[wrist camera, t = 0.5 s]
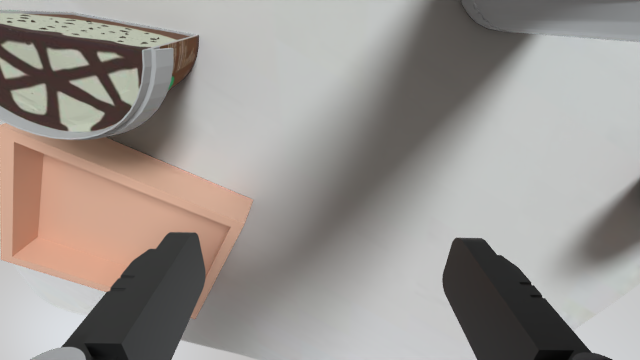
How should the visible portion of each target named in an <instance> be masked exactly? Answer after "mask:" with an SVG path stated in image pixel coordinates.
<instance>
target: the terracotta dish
mask: <svg viewBox="0 0 640 360" xmlns="http://www.w3.org/2000/svg"><path fill="white" fill-rule="evenodd" d="M252 202H253V200H252V199H250V198H248V197H245V196H243V195H240V194H238V193H236V192H233V191H231V190H229V189H226V188H224V187H222V186H219V185H217V184H215V183H212V182H210V181H208V180H205V179H203V178H201V177H198V176H196V175H193V174H191V173H189V172H186V171H184V170H182V169H179V168H177V167H175V166H172V165H170V164H168V163H165V162H163V161H161V160H158V159H156V158H153V157H151V156H149V155H146V154H144V153H142V152H139V151H137V150H135V149H132V148H130V147H128V146H125V145H123V144H121V143H118V142H116V141H113V140H111V139H109V138H106V137H103V138H98V139H91V140H67V139H55V138H49V137H44V136H40V135H36V134H33V133H30V132H27V131H24V130H21V129H18V128H16V127H13V126H11V125H9V124H7V123H5V124H2V125H0V228H1V260H4V261H7V262H10V263H13V264H16V265H20V266H23V267H26V268H29V269H33V270H36V271H39V272H43V273H46V274H49V275H52V276H56V277H59V278H62V279H65V280H69V281H72V282H75V283H78V284H82V285H85V286H88V287H92V288H95V289H98V290H101V291H105V292H107V291H110V288H111V286H112V285H113V284H114V283H115V282H116V280H117V279H118V278H120V277H121V274H122V273H123V272H124V271H125V269H126V268H127V267H128V266H129V265H130V263H131V262H132V261H133V260H134V259H136V258H137V257H139V256H140V255H141V254H143V253H144V252H146V251H147V250H148V249H156V248H157V247H158V245H159V244H160V243H161V241H162V240H163V239H164V237H165V236H166V235H167V234H168V233H170V232H195V233H197V235H198V237H199V241H200V246H201V250H202V255H203V260H204V265H205V271H206V276H205V284H204V287H203V290H202V293H201V295H200V297H199V299H198V301H197V304H196V306H195V308H194V310H193V313H192V315H191V317H190V318H193V319H196V317H197V315H198V313H199V311H200V309H201V307H202V305H203V303H204V301H205V300H206V298H207V296H208V294H209V292H210V290H211V288H212V286H213V284H214V282H215V280H216V278H217V276H218V274H219V272H220V270H221V269H222V267H223V265H224V263H225V261H226V259H227V257H228V255H229V253H230V251H231V249H232V247H233V245H234V243H235V241H236V239H237V238H238V236H239V234H240V232H241V230H242V228H243V226H244V224H245V221H246V219H247V216H248V213H249V210H250V208H251V205H252Z"/></svg>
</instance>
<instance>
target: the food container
mask: <svg viewBox="0 0 640 360" xmlns="http://www.w3.org/2000/svg"><path fill="white" fill-rule="evenodd" d="M198 47H199V35H194V34H188V33H183V32H177V31H172V30H166V29H161V28H155V27H150V26H144V25H139V24H133V23H128V22H122V21H117V20H111V19H106V18H100V17H94V16H89V15H83V14H78V13H68V12H42V11H16V10H0V121H2V122H5V123H7V124H9V125H11V126H13V127H16V128H18V129H21V130H24V131H27V132H30V133H33V134H36V135H40V136H44V137H49V138H55V139H67V140H91V139H98V138H103V137H108V136H112V135H116V134H120V133H124V132H127V131H130V130H132V129H134V128H136V127H138V126H140V125H141V124H143V123H144V122H145V121H147V120H148V119H150V117H151V116H152V115H153V114H154V113H155V112H156V111H157V110H158V109H159V107H160V105H161V103H162V102H163V100H164V98H165V97H166V94H167V91H168V90H169V89H171V88H172V87H173V86H175V85H176V84H178V83H179V82H180V81H181V80H183V79H184V78H185V77H186V76H187V74H188V73H189V72H190V70H191V69H192V67H193V65H194V63H195V60H196V57H197V52H198Z"/></svg>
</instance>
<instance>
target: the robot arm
mask: <svg viewBox="0 0 640 360" xmlns="http://www.w3.org/2000/svg"><path fill="white" fill-rule="evenodd" d="M461 2H462V5H463V6H464V8H465V10H466V11H467V13H468V15H469V16H470V17H471V18H472V19H474V20H475V21H476V22H477V23H478V24H480V25H482V26H484V27H486V28H488V29H492V30H497V31H504V32H511V33H530V34H541V35H554V36H567V37H580V38H594V39H607V40H620V41H633V42H640V0H461ZM205 276H206V271H205V265H204V260H203V255H202V250H201V246H200V241H199V237H198V235H197V233H195V232H170V233H168V234H167V235H166V236H165V237H164V239H163V240H162V241H161V243H160V244H159V245H158V247H157V248H156V249H148V250H147V251H146V252H144V253H143V254H141V255H140V256H139V257H137V258H136V259H134V260H133V261H132V262H131V263H130V265H129V266H128V267H127V268H126V269H125V271H124V272H123V273H122V274H121V277H120V278H118V279H117V280H116V282H115V283H114V284H113V285H112V286H111V288H110V291H107V293H106V294H105V295H104V296H103V297H102V299H101V300H100V301H99V302H98V304H97V305H96V306H95V307H94V308H93V310H92V311H91V312H90V313H89V314H88V316H87V317H86V318H85V319H84V321H83V322H82V323H81V324H80V325H79V327H78V328H77V329H76V330H75V332H74V333H73V334H72V335H71V336H70V338H69V339H68V340H67V342H65V344H64V345H63V346H62V347H61V348H56V349H53V350H49V351H47V352H44V353H42V354H40V355H38V356H36V357H34V358H32V359H30V360H171V359H172V357H173V355H174V352H175V350H176V348H177V346H178V343H179V341H180V339H181V337H182V335H183V332H184V330H185V328H186V326H187V324H188V321H189V319H190V317H191V315H192V313H193V310H194V308H195V306H196V304H197V301H198V299H199V297H200V295H201V293H202V290H203V287H204V284H205ZM443 288H444V292H445V295H446V297H447V299H448V301H449V303H450V305H451V307H452V309H453V311H454V313H455V315H456V317H457V319H458V321H459V323H460V325H461V327H462V329H463V331H464V333H465V335H466V337H467V340H468V342H469V344H470V346H471V348H472V350H473V352H474V354H475V356H476V358H477V360H612V359H610V358H608V357H605V356H602V355H599V354H595V353H592V352H591V351H590V350H589V349H588V348H587V347H586V346H585V345H584V343H583V342H582V341H581V340H580V339H579V338H578V336H577V335H576V334H575V333H574V332H573V331H572V329H571V328H570V327H569V326H568V325H567V324H566V322H565V321H564V320H563V319H562V318H561V317H560V315H559V314H558V313H557V312H556V311H555V310H554V308H553V307H552V306H551V305H550V304H549V303H548V302H547V300H546V299H545V298H542V295H541V293H540V292H539V291H538V290H537V289H536V288H535V286H532V285H531V282H530V281H529V279H528V278H527V277H526V276H525V275H524V274H523V272H522V271H521V270H520V269H519V268H518V267H517V266H515V265H514V264H512V263H511V262H510V261H508V260H507V259H505V258H504V257H503V256H501V255H497V254H496V253H495V252H494V251H493V250H492V248H491V247H490V246H489V245H488V243H487V242H486V241H485V240H484V239H482V238H455V239H454V240H453V242H452V245H451V249H450V252H449V255H448V259H447V262H446V266H445V269H444V272H443Z"/></svg>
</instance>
